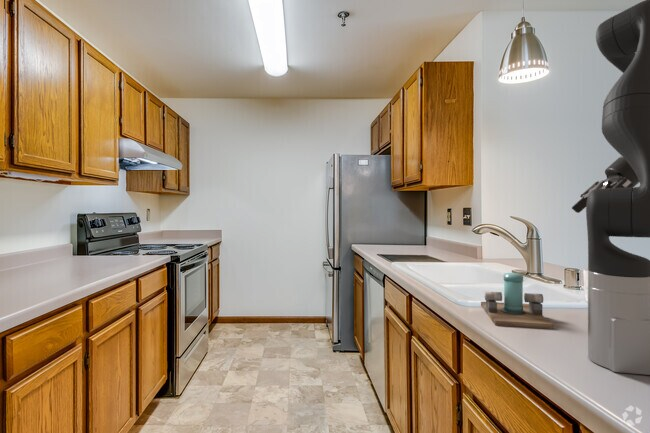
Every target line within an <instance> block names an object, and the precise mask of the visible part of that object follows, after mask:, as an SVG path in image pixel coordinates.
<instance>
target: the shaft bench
mask: <svg viewBox="0 0 650 433" xmlns="http://www.w3.org/2000/svg"><path fill="white" fill-rule="evenodd" d="M502 301H503V294H502V291H484V301H481V302H480V306H481V307H482V309H483V311H484V312H485V313H486V315H487V316H488V317H489V319H490V320H491V321H492V323H493V325H494V326H500V327H501V326H502V327H514V328H515V327H518V328H532V329H533V328H536V329H546V330H547V329H548V330H550V329H552V330H553V329H554V323H553V322H551V321H550V320H549V319H548V318H547V317H545V316H544V314H543V303H544V294H542V293H534V292H533V293H528V292H524V294H523V301H524V302H525V303H523V312H522V313H511V312H507V311H505V310H504V302H502Z"/></svg>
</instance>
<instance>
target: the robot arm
mask: <svg viewBox="0 0 650 433" xmlns="http://www.w3.org/2000/svg"><path fill="white" fill-rule="evenodd" d="M595 41H596V45H597V48H598V50H599V52H600V54H602V56H603V57H604V58H605V59H606V60H607V61H608V62H609V63H611V65H613V66H614V67H615V68H617V69H618V70H619V71H620V72H621V73H622V74H621V76H620V77H619V78H618V80H617V81H616V82H615V83H614V85H613V86H612V88H611V89H610V90H609V91H608V94H607V95H606V97H605V99H604V101H603V106H602V116H601V117H602V119H601V133H602V135H603V137H604V138H605V140H606V142H607V143H608V144H609V145H610V146H611V147H612V148H613V149H614V150H615V151H616V152H617V153H618V154H619V155H620V156H619V157H618V158H617V159H616V160H614V161H613V162H612V163H611V164H610V165H609V166H608V167H607V168H606V169H605V170H604V174H605V176H606V179H604V180H600V181H599V180H597V181H596V182H594V183H593V184H592V185H591V186H590V187H588V188H587V189H586V190H585V191H584V192H583V193H582V194H580V198H581V199H579V200H578V201H577V202H576V203H575V204H574V205H572V207H571V210H573V211H574V212H575V213H581V212H582V211H583V210H585V214H586V230H587V255H588V256H587V261H588V262H587V266H588V267H587V269H588V303H587V358H588V360H590V361H591V362H593V363H594V364H597V365H599V366H601V367H603V368H606V369H608V370H610V371H612V372H614V373H623V374H634V375H645V376H646V375H647V376H648V375H649V376H650V259H649V258H646V257H644V256H641V255H638V254H635V253H631V252H629V251H626V250H624V249H622V248H620V247H618V246H617V245H615V244H613V242H611V240H610V237H618V238H621V237H622V238H650V0H643V1H641V2H639V3H636V4H634V5H633V6H631V7H629V8H626V9H625V10H623V11H621V12H619V13H617V14H615V15H613V16H610V17H609V18H607V19H605V20H604V21H603V22H601V23H600V24H599V25H598V26H597V29H596V32H595ZM638 184H639V186H637V185H638ZM636 186H637V187H636Z"/></svg>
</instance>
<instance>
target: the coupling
mask: <svg viewBox="0 0 650 433" xmlns="http://www.w3.org/2000/svg"><path fill="white" fill-rule="evenodd" d="M503 280H504V281H503V283H504V284H503V286H504V287H503V288H504V290H503V292H504V294H503V295H504V297H503V298H504V299H503V300H504V302H503V303H504V310H505V311H507V312H511V313H522V312H523V304H524V302H523V301H524V294H523V291H524V290H523V288H524V287H523V282H524V275H523V274H521V273H516V272H515V273H514V272H505V273H504V274H503Z"/></svg>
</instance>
